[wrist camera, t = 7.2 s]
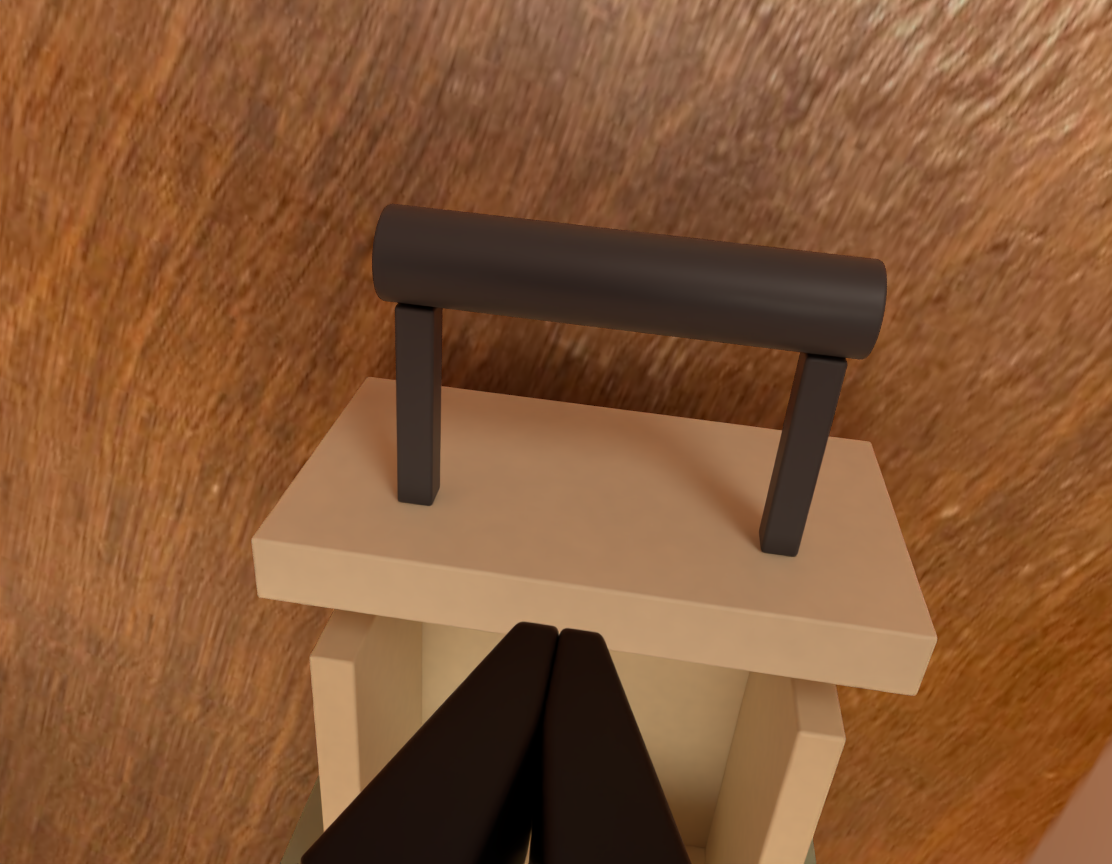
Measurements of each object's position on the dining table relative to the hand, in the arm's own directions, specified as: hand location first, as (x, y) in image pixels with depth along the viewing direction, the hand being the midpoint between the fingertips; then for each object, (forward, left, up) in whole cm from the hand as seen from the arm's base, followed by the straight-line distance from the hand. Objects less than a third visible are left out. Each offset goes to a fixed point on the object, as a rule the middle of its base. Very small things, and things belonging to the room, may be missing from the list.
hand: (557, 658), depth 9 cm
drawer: (0, +6, -10) cm, 11 cm away
